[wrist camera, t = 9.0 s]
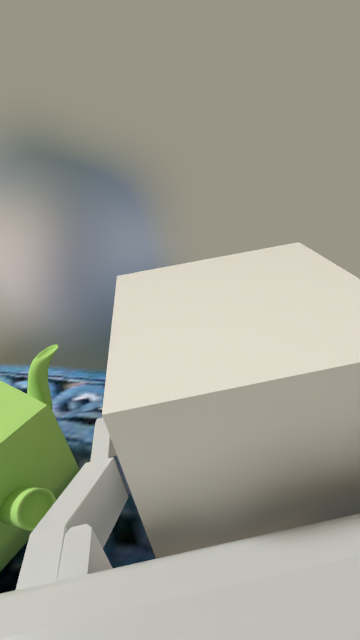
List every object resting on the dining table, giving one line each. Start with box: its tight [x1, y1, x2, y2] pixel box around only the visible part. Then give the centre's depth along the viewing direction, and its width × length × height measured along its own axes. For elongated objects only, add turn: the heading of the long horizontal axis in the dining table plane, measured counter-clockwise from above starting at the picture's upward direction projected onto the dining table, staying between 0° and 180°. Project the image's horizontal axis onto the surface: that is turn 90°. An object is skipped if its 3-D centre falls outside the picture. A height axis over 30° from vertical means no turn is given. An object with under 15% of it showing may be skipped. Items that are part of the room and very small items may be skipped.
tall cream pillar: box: [102, 242, 360, 559], centre depth 10 cm, size 6×6×10 cm
